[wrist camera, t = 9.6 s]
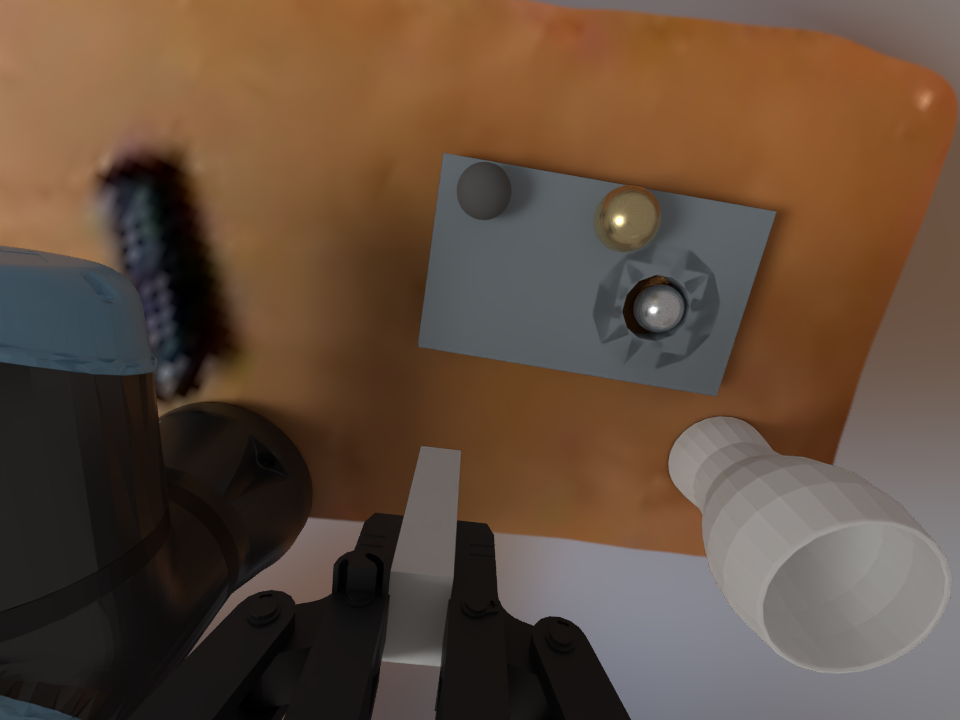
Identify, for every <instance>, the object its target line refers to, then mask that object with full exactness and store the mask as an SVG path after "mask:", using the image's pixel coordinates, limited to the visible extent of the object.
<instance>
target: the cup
mask: <svg viewBox="0 0 960 720" xmlns="http://www.w3.org/2000/svg"><path fill="white" fill-rule="evenodd" d="M668 466H669V474H670V477H671V479H672V481H673V483H674V485H675V486H676V487H677V488H678V489H679V490H680V492H681V493H682V494H683V495H684V496H685V497H686V498H687V499H688V500H690V501H691V502H692V503H693V504H694V505H695V506H697V507H698V508H699V509H700V511H701V513H702V515H703V518H702V533H703V542H704V547H705V551H706V556H707V560H708V564H709V568H710V570H711V572H712V574H713V577H714V579H715V581H716V583H717V585H718V587H719V588H720V590H721V591H722V593H723V595H724V596H725V598H726V599H727V601H728V603H729V604H730V606H731V607H732V609H733V610H734V611H735V612H736V613H737V614H738V615H739V617H740V618H741V619H742V620H743V621H744V622H745V623H746V624H747V625H748V626H749V627H750V628H751V629H752V630H753V631H754V632H755V633H756V634H757V635H758V636H759V637H760V638H761V639H763V641H764V642H765V643H766V644H767V645H769V646H770V647H771V648H772V649H773V650H774V651H775V652H776V653H777V654H778V655H780V656H781V657H783V658H784V659H786V660H788V661H789V662H791V663H793V664H794V665H796V666H799V667H802V668H806V669H809V670H812V671H815V672H823V673H837V674H843V673H851V672H858V671H866V670H869V669H872V668H875V667H878V666H881V665H884V664H887V663H889V662H891V661H893V660H895V659H897V658H899V657H900V656H902V655H904V654H906V653H908V652H909V651H911V650H912V649H913V648H914V647H915V646H917V645H918V644H919V643H920V642H922V641H923V640H924V639H925V638H926V637H927V636H929V634H930V633H931V632H932V630H933V629H934V628H935V626H936V625H937V624H938V622H939V621H940V620H941V618H942V617H943V615H944V612H945V610H946V607H947V605H948V602H949V599H950V596H951V583H952V576H951V572H950V569H949V565H948V561H947V558H946V556H945V555H944V553H943V552H942V551H941V549H940V548H939V546H938V545H937V544H936V542H935V541H934V540H933V539H932V538H931V536H930V535H929V534H928V533H927V532H926V531H925V530H924V529H923V528H922V527H921V526H920V524H919V523H918V522H917V521H916V520H915V519H914V518H913V517H912V516H911V515H910V513H908V512H907V510H906V509H905V508H904V507H903V506H902V505H901V504H900V503H899V502H897V501H896V500H894V499H893V498H891V497H890V496H888V495H887V494H885V493H884V492H883V491H881V490H880V489H878V488H877V487H875V486H873V485H872V484H871V483H869V482H868V481H866V480H865V479H863V478H861V477H860V476H858V475H857V474H855V473H854V472H851V471H848V470H845V469H842V468H839V467H836V466H833V465H829V464H826V463H823V462H819V461H816V460H813V459H809V458H806V457H800V456H784V455H781V454H779V453H777V452H775V451H773V449H772V448H771V447H770V446H769V444H768V443H767V442H766V441H765V439H764V438H763V437H762V436H761V435H760V434H759V432H758V431H757V430H756V429H755V428H754V427H752V426H751V425H749V424H748V423H746V422H745V421H743V420H740V419H737V418H734V417H723V416H718V417H713V418H707V419H704V420H702V421H700V422H697V423H695V424H693V425H692V426H691V427H689V428H688V429H687V430H685V431H684V432H683V433H682V434H681V435H680V437H679V438H678V439H677V440H676V441H675V443H674V445H673V447H672V449H671V451H670V456H669V461H668Z"/></svg>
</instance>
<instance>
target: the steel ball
mask: <svg viewBox="0 0 960 720" xmlns="http://www.w3.org/2000/svg"><path fill="white" fill-rule="evenodd" d="M684 309H685V305H684V301H683V298H682V296H681V294H680V293H679V292H678V291H677V290H676V289H674V288H673V287H671V286H668V285H664V284H656V285H652V286H649V287H647V288H645V289H644V290H642V291H641V292H640V293H639V295H638V296H637V298H636V299H635V302H634V307H633V312H634V316H635V319H636V321H637V322H638V324H639V325H640V326H641V327H643V328H644V329H646V330H648V331H651V332H665V331H668V330H670V329H672V328H674V327H675V326H676V325H677V324H678V323H679V322H680V321H681V319H682V317H683V314H684Z"/></svg>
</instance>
